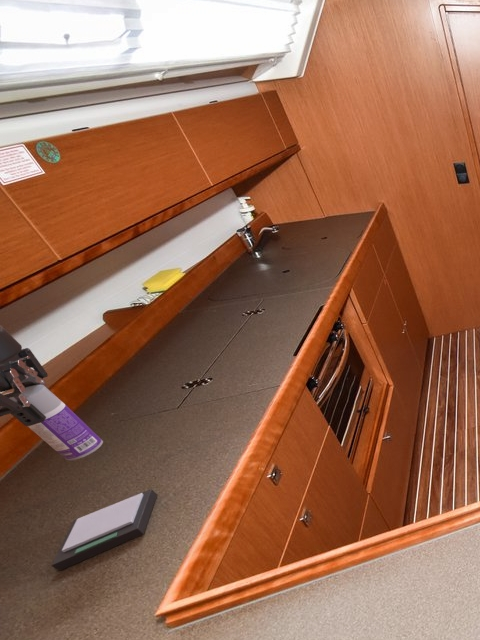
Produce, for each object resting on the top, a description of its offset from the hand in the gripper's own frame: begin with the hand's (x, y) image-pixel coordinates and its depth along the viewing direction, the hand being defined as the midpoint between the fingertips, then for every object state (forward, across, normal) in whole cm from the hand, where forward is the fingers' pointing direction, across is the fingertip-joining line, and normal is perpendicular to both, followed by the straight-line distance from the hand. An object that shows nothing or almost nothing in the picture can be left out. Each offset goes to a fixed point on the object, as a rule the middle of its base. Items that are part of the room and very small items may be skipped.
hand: (43, 412), depth 72 cm
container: (+11, 0, 0) cm, 11 cm away
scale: (+27, +6, -2) cm, 27 cm away
